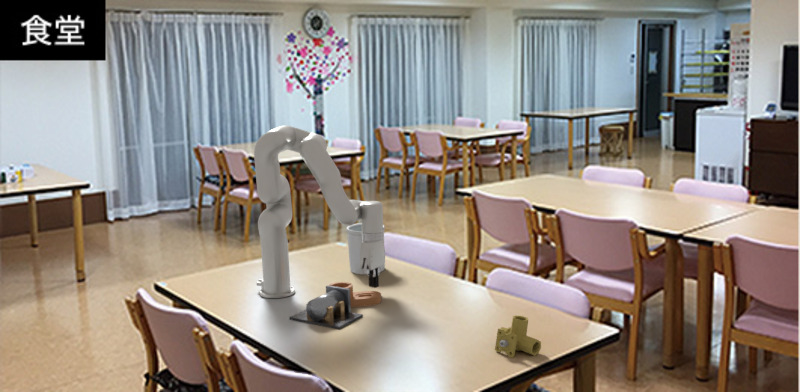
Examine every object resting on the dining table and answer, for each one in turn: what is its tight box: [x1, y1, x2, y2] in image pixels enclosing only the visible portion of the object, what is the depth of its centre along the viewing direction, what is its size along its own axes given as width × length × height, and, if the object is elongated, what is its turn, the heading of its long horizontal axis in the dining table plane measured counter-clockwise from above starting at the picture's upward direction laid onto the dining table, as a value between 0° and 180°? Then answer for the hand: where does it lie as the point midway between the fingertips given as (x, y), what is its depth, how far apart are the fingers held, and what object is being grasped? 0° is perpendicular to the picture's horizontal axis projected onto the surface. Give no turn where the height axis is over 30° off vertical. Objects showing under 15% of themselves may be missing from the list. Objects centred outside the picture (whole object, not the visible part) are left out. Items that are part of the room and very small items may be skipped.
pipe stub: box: [288, 284, 364, 330], centre depth 259 cm, size 20×14×8 cm
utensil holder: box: [346, 222, 386, 275], centre depth 313 cm, size 15×15×18 cm
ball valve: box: [494, 315, 542, 358], centre depth 226 cm, size 13×10×10 cm
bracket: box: [328, 281, 382, 308], centre depth 273 cm, size 18×8×7 cm, turn 102°
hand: (373, 286), depth 283 cm, fingers closed
